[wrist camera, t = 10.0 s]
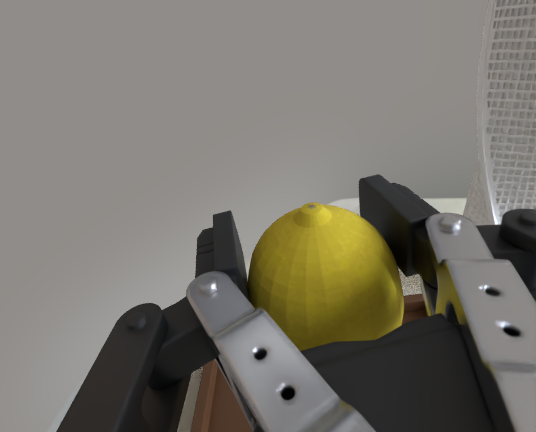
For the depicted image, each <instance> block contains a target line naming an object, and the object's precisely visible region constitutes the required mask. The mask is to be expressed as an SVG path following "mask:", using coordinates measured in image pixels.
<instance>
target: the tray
mask: <svg viewBox="0 0 536 432" xmlns="http://www.w3.org/2000/svg"><path fill="white" fill-rule="evenodd" d="M403 298H404V311H403V319H402V324H401V325H403V324H405V323H406V322H409V321H413V320H417V319H420V318H424V317H428V314H427V310H426V306H425V302H424V298H423V294H415V295H407V296H403ZM191 432H253V431H252V429H251V427H250V425H249V424H248V422H247V420H246V418H245V416H244V414H243V412H242V410H241V407H240V405H239V403H238V401H237V399H236V397H235V396H234V394H233V392H232V390H231V388H230V386H229V384H228V383H227V381H226V379H225V377H224V375H223V373H222V371H221V370H220V368H219V366H218V364H217V362H216V360H215V359H214V360H212V361H210V362H209V363H207V364H205V365H204V367H203V372H202V377H201V382H200V387H199V392H198V397H197V402H196V407H195V412H194V417H193V423H192V428H191Z"/></svg>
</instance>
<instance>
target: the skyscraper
mask: <svg viewBox="0 0 536 432" xmlns="http://www.w3.org/2000/svg"><path fill="white" fill-rule="evenodd" d="M476 106H477V107H476V115H477V116H476V117H477V140H478V153H479V158H478V162H477V165H476V168H475V172H474V175H473V179H472V183H471V186H470V190H469V193H468V197H467V201H466V205H465V209H464V213H463V216H465V217H467V218H469V219H471V220H472V221H473V222H474V224H475V225H498V224H501V221H502V217H503V215H504V213H506V212H507V211H510V210H514V209H534V210H536V0H489V1H488V6H487V12H486V18H485V25H484V30H483V36H482V44H481V52H480V60H479V70H478V81H477V105H476Z"/></svg>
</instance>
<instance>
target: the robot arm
mask: <svg viewBox="0 0 536 432" xmlns="http://www.w3.org/2000/svg"><path fill="white" fill-rule="evenodd" d="M359 202H360V216H361V217H362V218H364V219H365V220H366V221H368V222H369V223H370V224H371V225H372V226H374V227H375V228H376V229H377V230H378V231H379V233H380V234H381V235H382V236H383V238H384V240H385V241H386V243H387V244H388V246H389V248H390V250H391V251H392V253H393V256H394V258H395V261H396V264H397V266H398V267H399V269H400V270H401V271H402V272H403V273H404V275H405V276H406V277H407V276H411V275H415V274H419V275H420V276H421V284H420V285H421V290H422V294H423V298H424V302H425V306H426V310H427V314H428V317H424V318H420V319H417V320H413V321H409V322H406V323H405V324H403V325H401V326H399V327H398V328H396V329H394V330H392V331H391V332H389V333H387V334H385V335H384V336H382V337H380V338H378V339H376V340H365V341H338V342H332V343H328V344H324V345H320V346H317V347H313V348H309V349H306V350H302V351H299V350H298V349H297V347H296V346H295V345H294V344H293V343H292V342H291V340H290V339H289V338H288V337H287V336H286V335H285V333H284V332H283V331H282V330H281V329H280V327H279V326H278V325H277V324H276V323H275V322H274V320H273V319H272V318H271V317H270V316H269V315H268V313H267V312H266V311H265V310H264V309H263V308H261V307H259V308H257V309H255V308H254V307H253V306H252V304H251V300H250V295H249V289H248V281H247V274H246V268H245V262H244V256H243V251H242V248H241V243H240V240H239V236H238V233H237V229H236V226H235V222H234V219H233V215H232V212H231V211H227V212H223V213H219V214H214V215H213V228H209V229H205V230H203V231H202V232H201V234H200V235H199V237H198V238H197V255H196V276H195V279H194V280H193V281H192V282H191V283H190V284H189V286H188V288H187V290H186V297H185V298H183V299H182V300H180V301H179V302H177V303H176V304H174V305H171V306H169V307H167V308H165V309H164V310H161V308H160V307H159V306H158V305H156V304H153V303H146V304H141V305H138V306H136V307H134V308H132V309H130V310H128V311H127V312H126V313H124V314H123V315H122V316H121V317H120V318H119V320H118V321H117V322H116V324H115V326H114V328H113V329H112V331H111V333H110V335H109V337H108V338H107V341H106V342H105V344H104V346H103V348H102V349H101V351H100V353H99V355H98V357H97V359H96V360H95V362H94V364H93V366H92V368H91V369H90V371H89V373H88V375H87V377H86V379H85V380H84V382H83V384H82V386H81V388H80V390H79V391H78V393H77V395H76V397H75V399H74V400H73V402H72V404H71V406H70V408H69V410H68V411H67V413H66V415H65V417H64V419H63V421H62V422H61V424H60V426H59V428H58V430H57V431H56V432H177V428H178V425H179V421H180V417H181V413H182V409H183V405H184V401H185V397H186V393H187V390H188V386H189V382H190V378H191V373H192V372H194V371H195V370H197V369H199V368H200V367H202V366H204V365H205V364H207V363H209V362H210V361H212V360H214V359H215V360H216V362H217V364H218V366H219V368H220V370H221V371H222V373H223V375H224V377H225V379H226V381H227V383H228V384H229V386H230V388H231V390H232V392H233V394H234V396H235V397H236V399H237V401H238V403H239V405H240V407H241V410H242V412H243V414H244V416H245V418H246V420H247V422H248V424H249V425H250V427H251V429H252V431H253V432H536V210H534V209H514V210H510V211H507V212H506V213H504V215H503V217H502V221H501V224H498V225H475V224H474V222H473V221H472V220H471V219H469V218H467V217H465V216H462V215H459V214H454V213H440V212H438V211H437V210H436V209H434V208H433V207H432V206H431V205H429V204H428V203H427V202H425V201H424V200H423V199H420V197H419V196H417V195H416V194H414V193H413V192H412V191H411V190H410V189H408V188H407V187H405V186H402V185H400V184H396V183H389V182H388V181H387V180H386V179H384V178H383V177H382V176H381V175H374V176H370V177H366V178H361V179H360V180H359Z"/></svg>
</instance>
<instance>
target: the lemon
mask: <svg viewBox="0 0 536 432" xmlns="http://www.w3.org/2000/svg"><path fill="white" fill-rule="evenodd" d="M248 289H249V295H250V300H251V304H252V306H253V307H254V308H255V309H257V308H259V307H261V308H263V309H264V310H265V311H266V312H267V313H268V315H269V316H270V317H271V318H272V319H273V320H274V322H275V323H276V324H277V325H278V326H279V327H280V329H281V330H282V331H283V332H284V333H285V335H286V336H287V337H288V338H289V339H290V340H291V342H292V343H293V344H294V345H295V346H296V347H297V349H298V350H299V351H302V350H306V349H309V348H313V347H317V346H320V345H324V344H328V343H332V342H338V341H365V340H376V339H378V338H380V337H382V336H384V335H385V334H387V333H389V332H391V331H392V330H394V329H396V328H398V327H399V326H401V324H402V319H403V311H404V298H403V290H402V285H401V280H400V275H399V271H398V267H397V264H396V261H395V258H394V256H393V253H392V251H391V250H390V248H389V246H388V244H387V243H386V241H385V240H384V238H383V236H382V235H381V234H380V233H379V231H378V230H377V229H376V228H375V227H374V226H372V225H371V224H370V223H369V222H368V221H366V220H365V219H364V218H362V217H361V216H359V215H357V214H355V213H353V212H351V211H349V210H347V209H343V208H339V207H336V206H331V205H321V204H319V203H308V204H305V205H303V206H302V207H301V208H298V209H295V210H293V211H291V212H289V213H287V214H285V215H283V216H282V217H280V218H279V219H277V220H276V221H275V222H274V223H273V224H272V225H271V226H270V227H269V228H268V229H267V230H266V231H265V232H264V234H263V235H262V236H261V238H260V240H259V241H258V243H257V245H256V247H255V249H254V252H253V254H252V258H251V263H250V268H249V275H248Z"/></svg>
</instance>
